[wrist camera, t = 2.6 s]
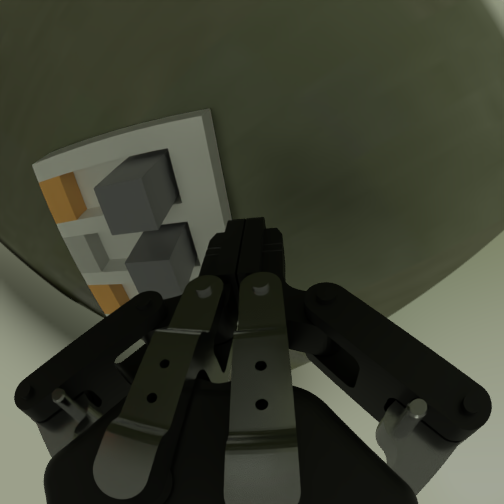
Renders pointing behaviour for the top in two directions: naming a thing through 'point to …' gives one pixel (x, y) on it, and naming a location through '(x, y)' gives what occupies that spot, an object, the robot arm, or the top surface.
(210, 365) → the robot arm
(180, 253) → the tab
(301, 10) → the top surface
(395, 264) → the top surface
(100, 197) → the tab
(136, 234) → the switch bank
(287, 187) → the top surface
